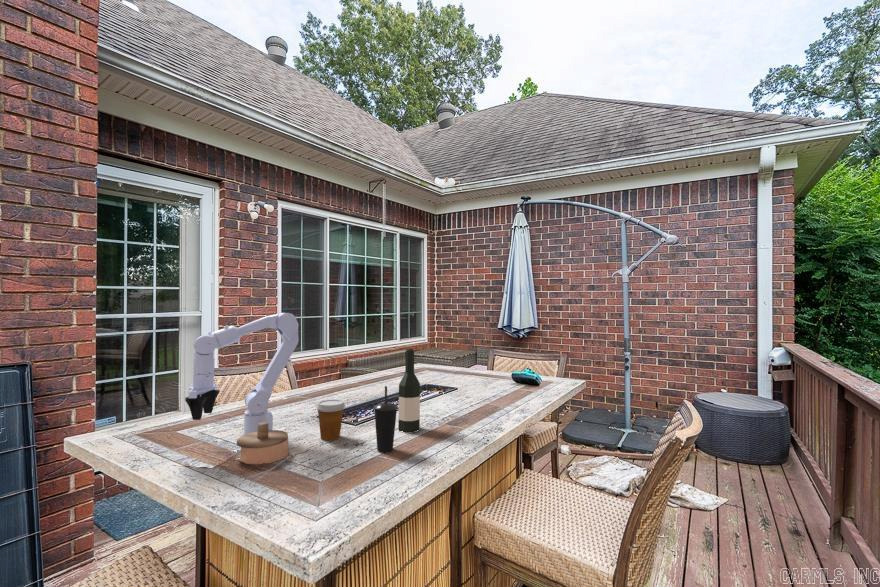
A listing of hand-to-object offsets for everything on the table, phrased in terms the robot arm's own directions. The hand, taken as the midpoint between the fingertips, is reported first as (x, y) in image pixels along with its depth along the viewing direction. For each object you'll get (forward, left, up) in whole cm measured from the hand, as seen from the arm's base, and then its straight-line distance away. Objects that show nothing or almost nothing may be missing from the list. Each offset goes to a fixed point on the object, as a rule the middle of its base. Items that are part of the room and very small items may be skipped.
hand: (202, 416), depth 126 cm
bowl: (+4, +24, -10) cm, 26 cm away
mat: (+8, +9, -10) cm, 16 cm away
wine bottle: (-29, +61, -10) cm, 68 cm away
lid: (+4, +23, -5) cm, 24 cm away
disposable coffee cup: (-16, +36, -10) cm, 41 cm away
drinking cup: (-7, +58, -10) cm, 59 cm away
